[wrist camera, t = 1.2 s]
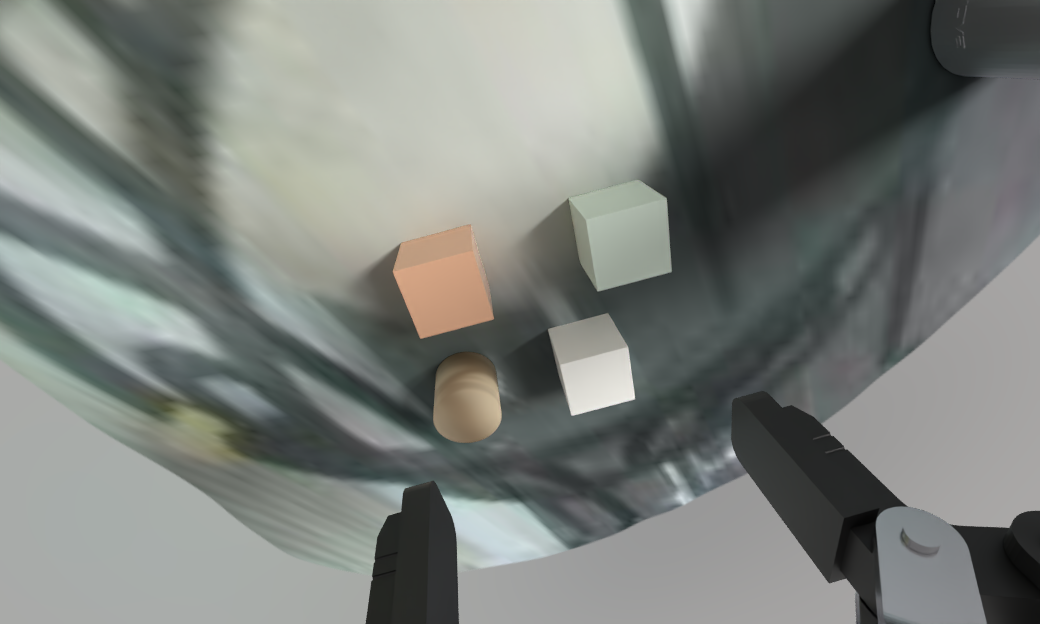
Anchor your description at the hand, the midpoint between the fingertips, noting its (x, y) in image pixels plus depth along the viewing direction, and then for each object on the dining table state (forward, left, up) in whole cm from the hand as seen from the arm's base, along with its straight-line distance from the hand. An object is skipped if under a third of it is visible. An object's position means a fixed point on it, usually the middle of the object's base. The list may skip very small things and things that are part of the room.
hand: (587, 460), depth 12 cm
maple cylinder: (+7, +13, -23) cm, 27 cm away
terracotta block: (+5, +3, -23) cm, 23 cm away
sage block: (-7, +3, -23) cm, 24 cm away
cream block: (-3, +13, -23) cm, 26 cm away
